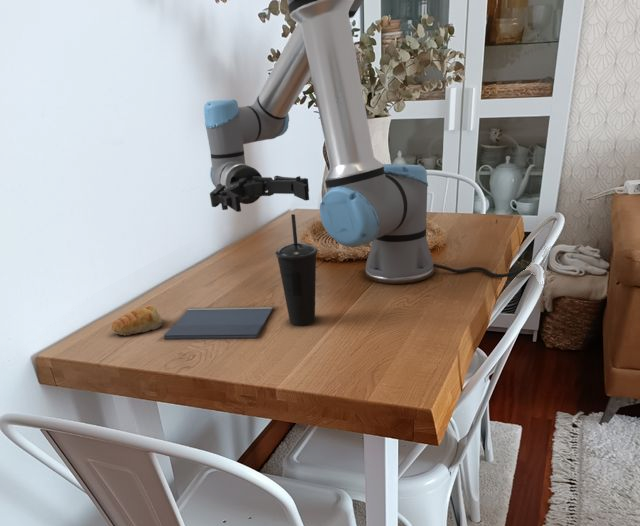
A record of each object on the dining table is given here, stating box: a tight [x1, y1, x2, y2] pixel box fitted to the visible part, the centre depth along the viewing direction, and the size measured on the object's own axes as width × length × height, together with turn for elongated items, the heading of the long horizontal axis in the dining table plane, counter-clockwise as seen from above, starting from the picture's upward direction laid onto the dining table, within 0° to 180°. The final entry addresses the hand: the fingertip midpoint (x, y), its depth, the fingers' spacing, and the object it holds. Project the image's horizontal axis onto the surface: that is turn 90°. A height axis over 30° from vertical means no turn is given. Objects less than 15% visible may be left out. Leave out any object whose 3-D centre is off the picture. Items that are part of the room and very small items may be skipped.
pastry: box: [111, 304, 163, 336], centre depth 121 cm, size 9×7×4 cm
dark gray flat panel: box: [163, 306, 274, 340], centre depth 121 cm, size 18×15×1 cm
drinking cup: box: [274, 213, 318, 327], centre depth 114 cm, size 8×8×20 cm
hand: (273, 198), depth 116 cm, fingers open, 13 cm apart
